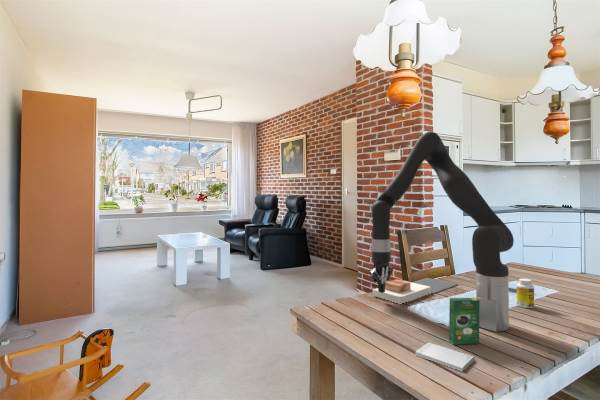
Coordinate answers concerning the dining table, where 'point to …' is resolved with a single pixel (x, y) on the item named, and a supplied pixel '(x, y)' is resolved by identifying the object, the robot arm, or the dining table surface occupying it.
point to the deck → (404, 293)
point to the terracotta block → (397, 286)
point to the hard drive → (445, 356)
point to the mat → (435, 284)
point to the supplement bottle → (525, 293)
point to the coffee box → (464, 321)
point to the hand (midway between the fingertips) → (381, 292)
